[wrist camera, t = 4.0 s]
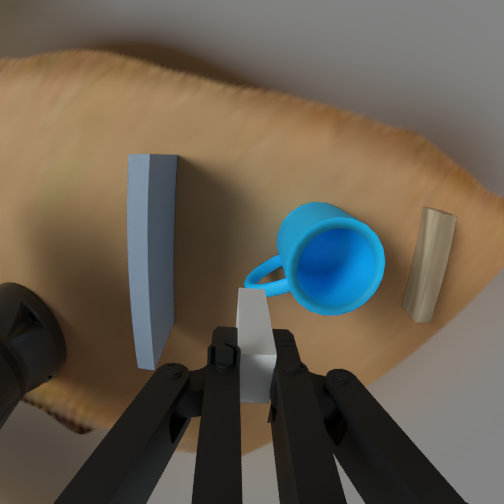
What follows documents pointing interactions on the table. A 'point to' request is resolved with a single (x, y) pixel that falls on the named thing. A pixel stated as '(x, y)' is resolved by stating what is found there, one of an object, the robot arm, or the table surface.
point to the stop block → (429, 264)
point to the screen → (151, 252)
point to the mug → (324, 260)
